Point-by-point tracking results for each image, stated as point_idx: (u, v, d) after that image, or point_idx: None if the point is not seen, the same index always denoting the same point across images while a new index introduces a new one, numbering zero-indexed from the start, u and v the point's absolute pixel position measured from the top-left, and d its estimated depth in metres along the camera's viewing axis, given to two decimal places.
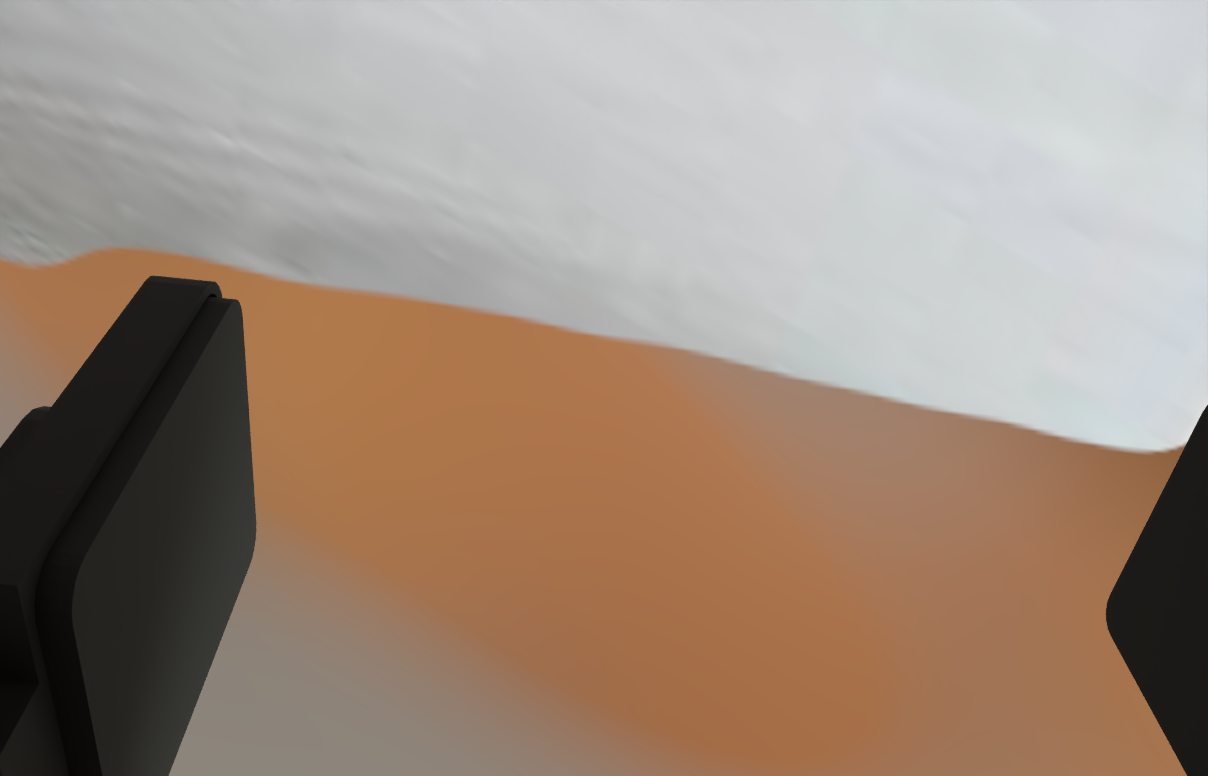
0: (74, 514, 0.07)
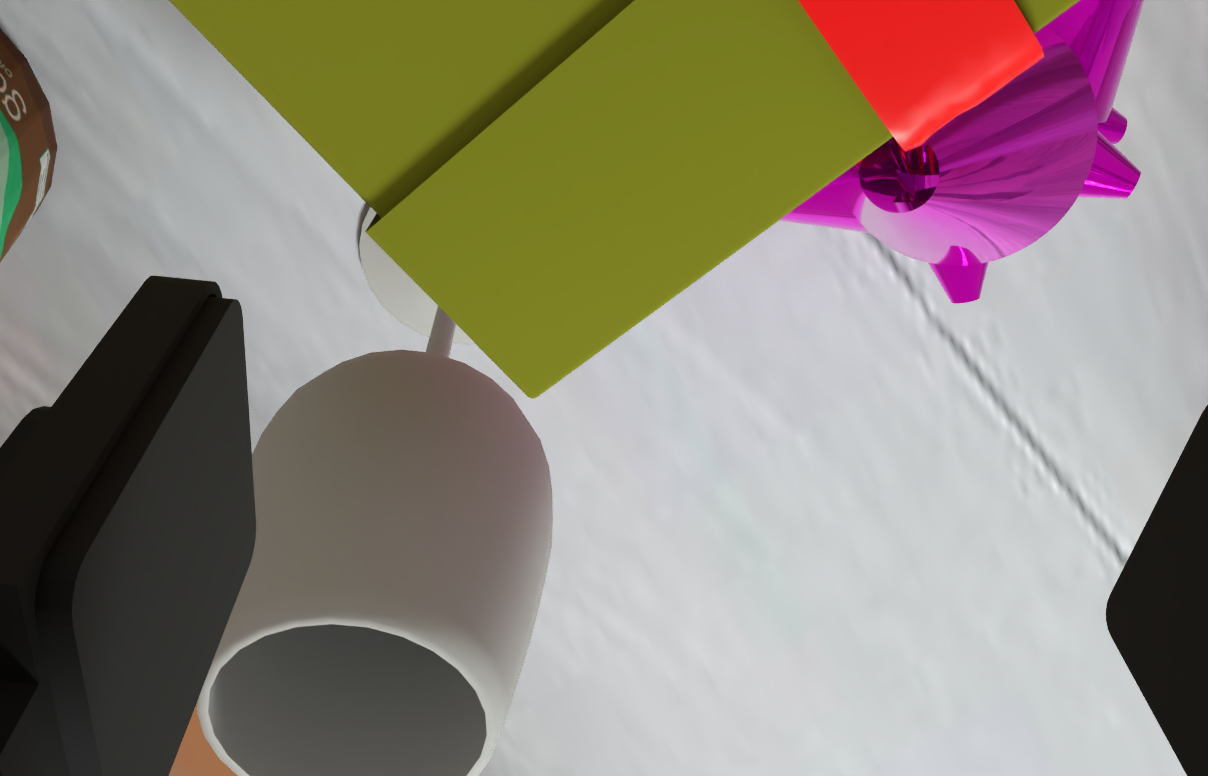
0: (74, 514, 0.07)
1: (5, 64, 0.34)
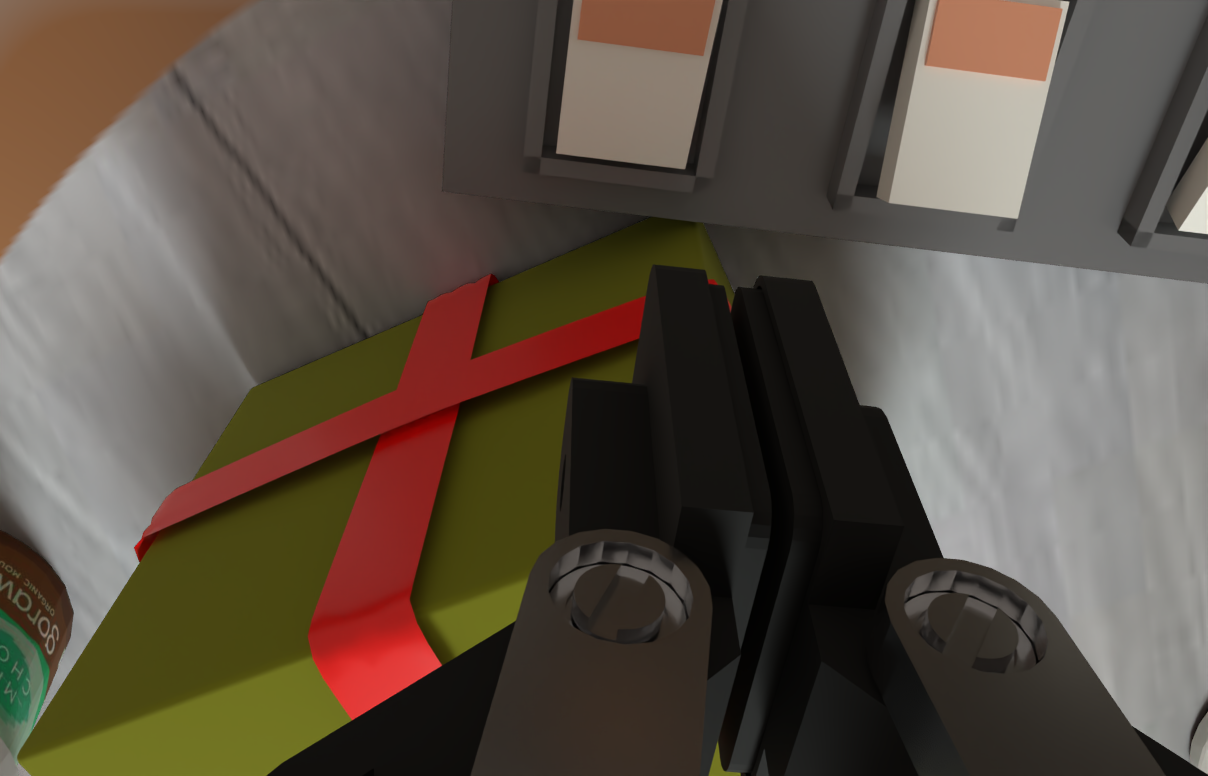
0: (742, 459, 0.08)
1: (50, 604, 0.43)
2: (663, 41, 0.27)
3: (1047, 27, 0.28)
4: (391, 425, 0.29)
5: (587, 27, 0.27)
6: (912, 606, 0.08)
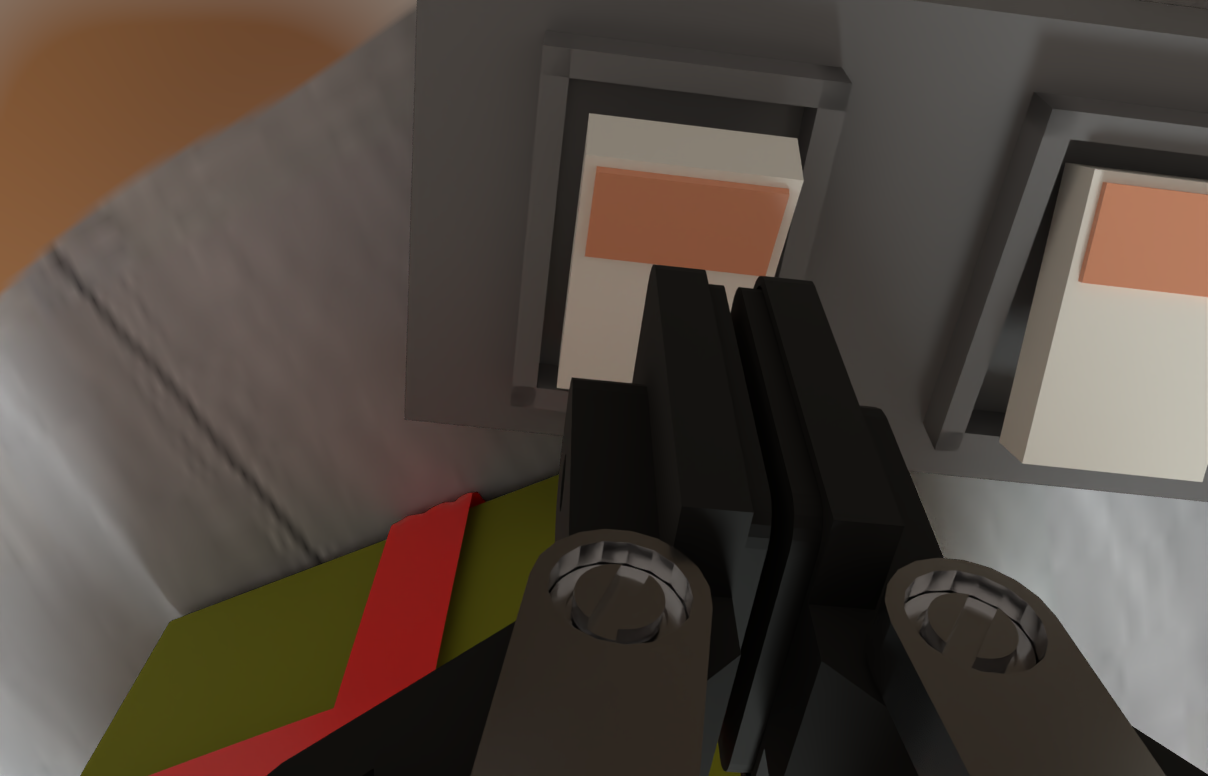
0: (742, 459, 0.08)
1: None
2: (708, 257, 0.19)
3: None
4: None
5: (599, 241, 0.19)
6: (912, 606, 0.08)
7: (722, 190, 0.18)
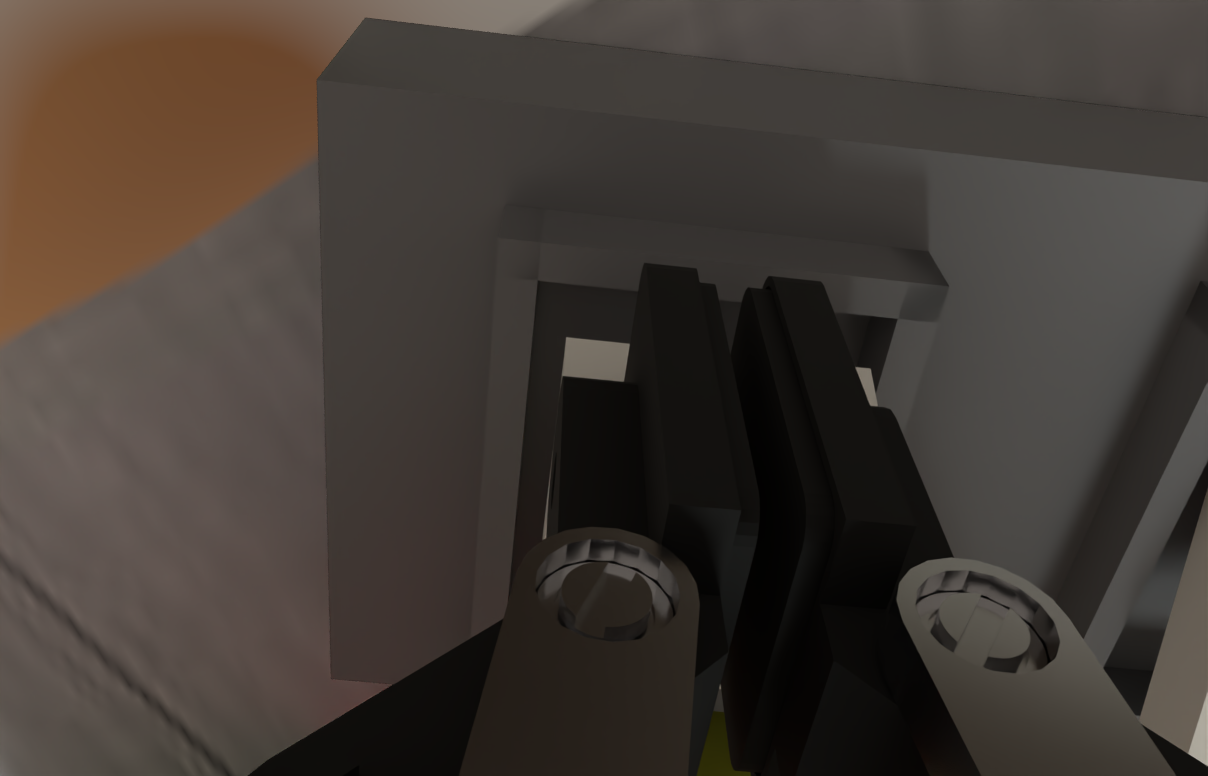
0: (731, 457, 0.08)
1: None
2: None
3: None
4: None
5: None
6: (924, 606, 0.08)
7: None
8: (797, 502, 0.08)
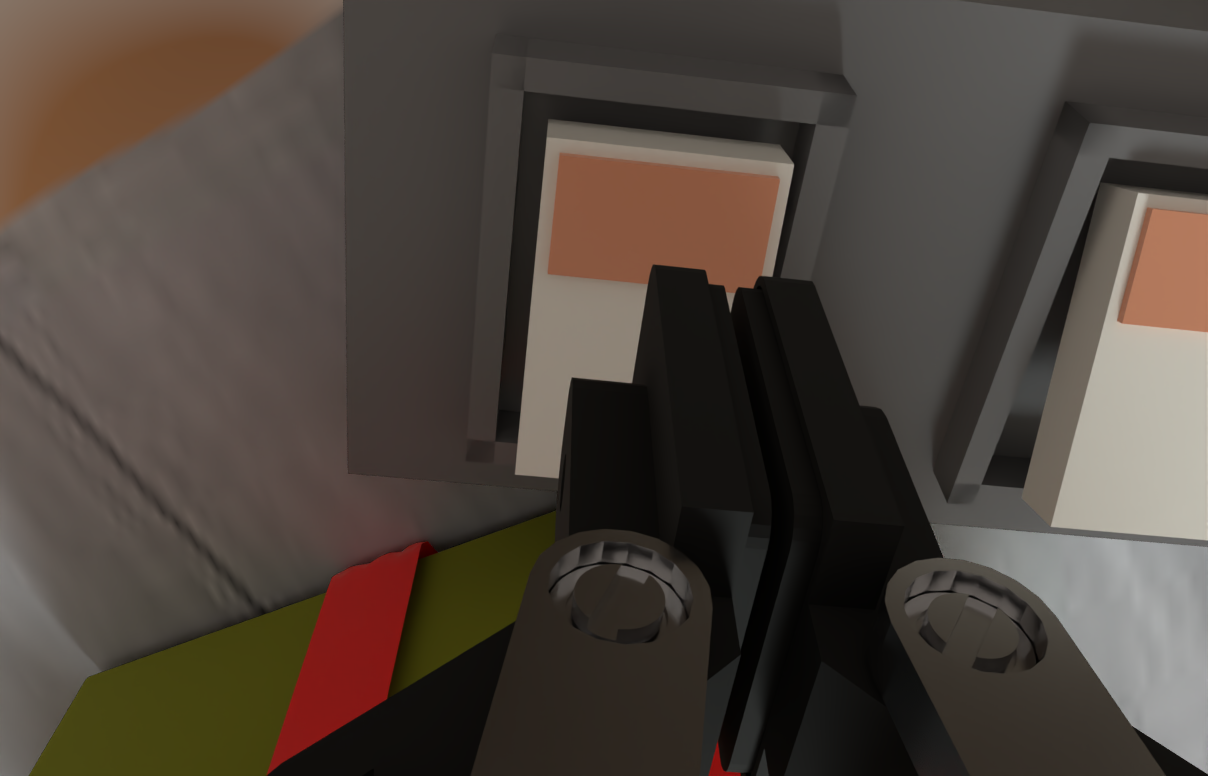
0: (742, 459, 0.08)
1: None
2: None
3: None
4: None
5: (564, 252, 0.16)
6: (912, 607, 0.08)
7: (704, 175, 0.16)
8: (786, 502, 0.08)
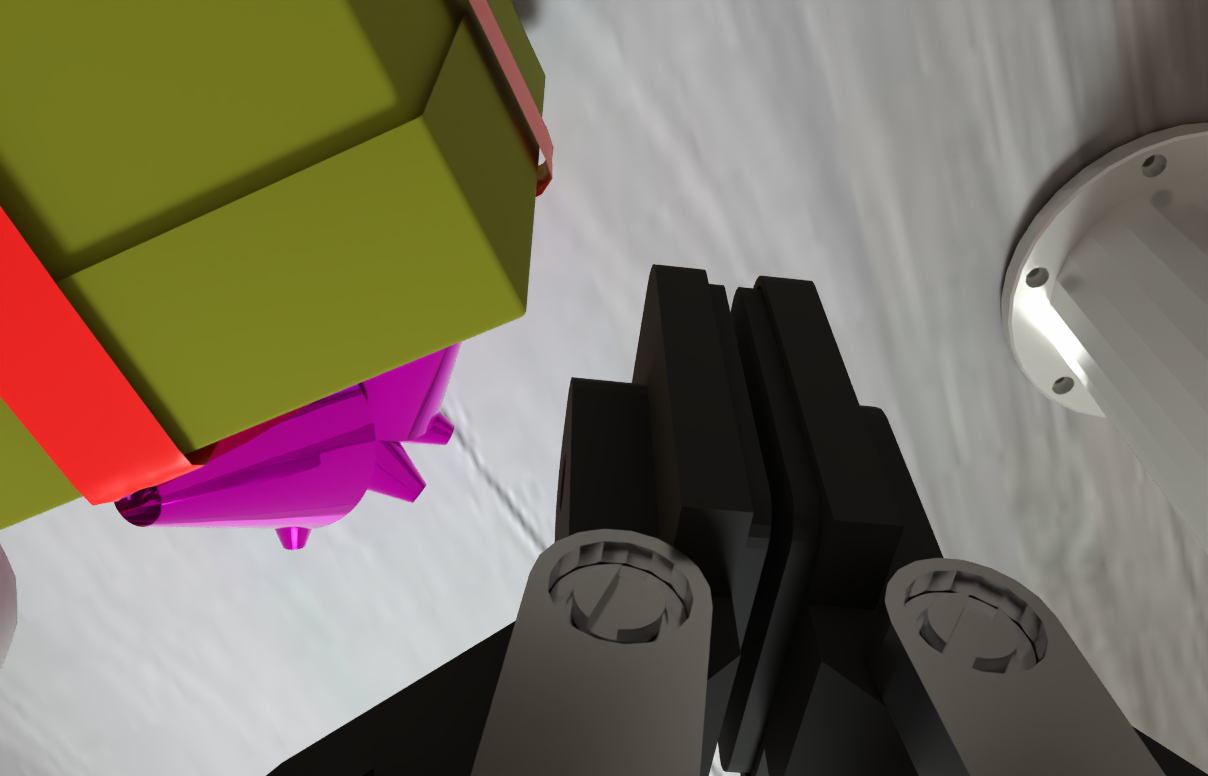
0: (742, 459, 0.08)
1: None
2: None
3: None
4: None
5: None
6: (912, 606, 0.08)
7: None
8: (785, 502, 0.08)
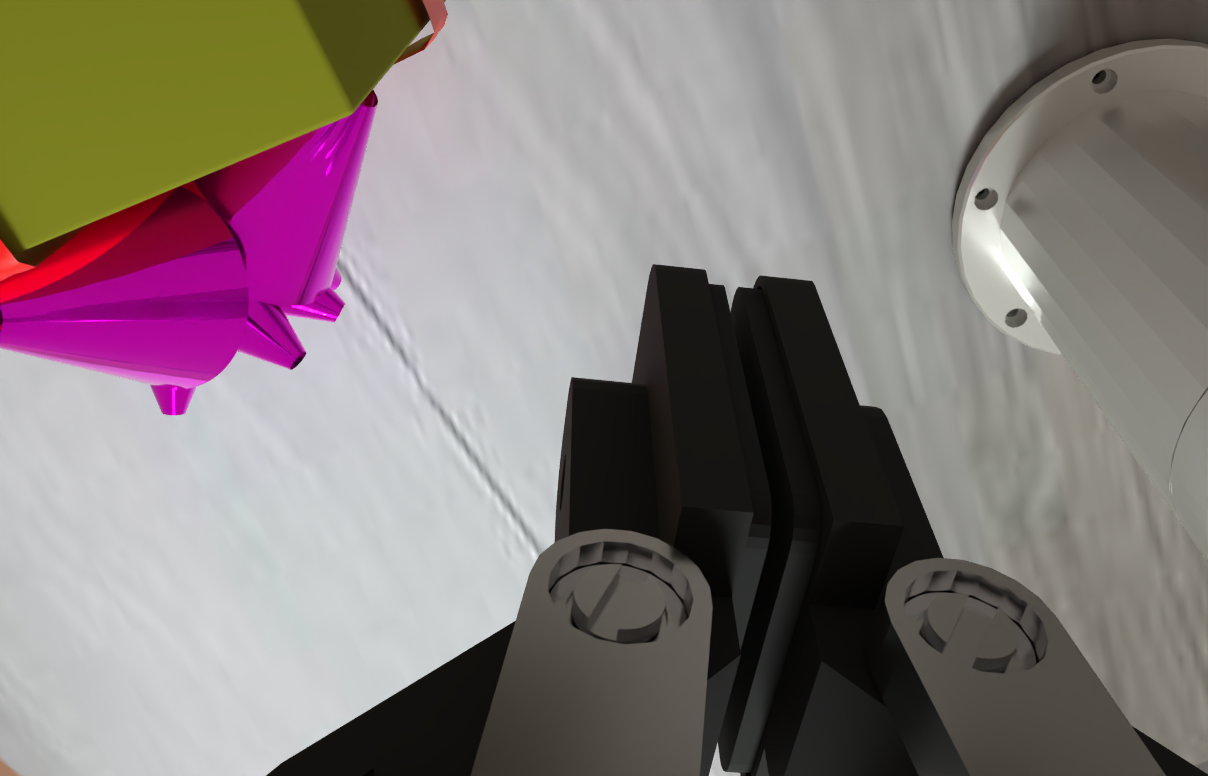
0: (743, 459, 0.08)
1: None
2: None
3: None
4: None
5: None
6: (912, 607, 0.08)
7: None
8: (786, 502, 0.08)
